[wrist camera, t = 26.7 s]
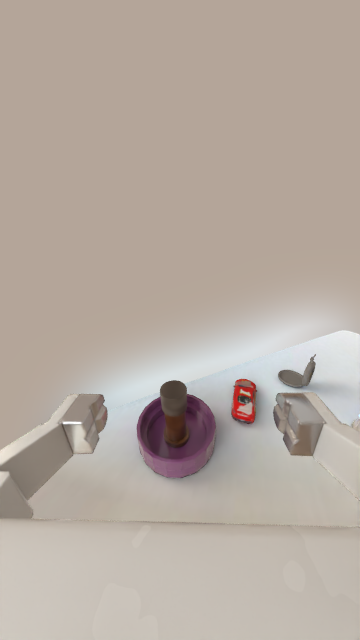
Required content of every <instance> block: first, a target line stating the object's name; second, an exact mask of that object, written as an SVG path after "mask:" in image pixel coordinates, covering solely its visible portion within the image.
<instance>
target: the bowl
mask: <svg viewBox="0 0 360 640" xmlns="http://www.w3.org/2000/svg"><path fill="white" fill-rule="evenodd" d="M185 415H186V425H187V426H188V429H189V439H188V442H187V443H186V444H185V445H184V446H182V447H179V448H173V447H170V446H168V445H167V444H166V442H165V440H164V429H165V427H166V423H165V413H164V412H163V410H162V405H161V397H159V398H157V399H155V400H153V401H152V402H151V403H150V404H149V405H148V406H146V407H145V409H144V410H143V412H142V413H141V415H140V417H139V420H138V424H137V437H138V443H139V448H140V453H141V455H142V457H143V459H144V461H145V463H146V464H147V465H148V466H149V467H150V468H151V469H152V470H153V471H154V472H156V473H158V474H161V475H163V476H166V477H177V478H182V477H185V476H187V475H190V474H193V473H196V472H197V471H198V470H199V469H201V468H202V467H203V466H204V465H205V464H206V463H207V462H208V460H209V458H210V457H211V455H212V453H213V449H214V444H215V433H216V425H215V419H214V415H213V413H212V412H211V410H210V408H209V407H208V406H207V405H206V404H205V403H204V402H203V401H202V400H201V399H199V398H197V397H195V396H193V395H189V394H187V409H186V411H185Z"/></svg>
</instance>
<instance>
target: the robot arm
mask: <svg viewBox="0 0 360 640" xmlns="http://www.w3.org/2000/svg"><path fill="white" fill-rule="evenodd" d="M104 401H105V400H104V397H103V395H101V394H70V395H68V396H67V397H66V398H65V400H64V401H63V402H62V404H61V405H60V406H59V407H58V409H57V410H56V411H55V412H54V414H53V415H52V416H51V418H50V419H49V420H48V421H47V423H46V424H41V425H40V426H38V427H36V428H35V429H33V430H31V431H30V432H28V433H27V434H25V435H24V436H22V437H21V438H19V439H17V440H16V441H14V442H13V443H11V444H9V445H8V446H6V447H5V448H3V449H2V450H0V640H360V527H339V526H301V525H263V524H225V523H186V522H147V521H108V520H68V519H31V518H32V516H33V509H32V508H31V506H30V505H29V503H28V501H27V500H28V499H29V498H30V497H31V496H32V495H33V494H34V493H36V492H37V491H38V490H39V489H40V488H41V487H42V486H43V485H44V484H45V483H46V482H47V481H48V480H49V479H50V478H51V477H52V476H53V475H54V474H55V473H56V472H57V471H58V470H59V469H60V468H61V467H62V466H63V465H64V464H65V463H66V462H67V461H68V460H69V459H70V458H71V457H72V456H73V454H92V453H93V452H94V449H95V447H96V445H97V443H98V441H99V435H98V434H99V433H100V432H101V431H102V430H103V429H104V427H105V425H106V421H107V408H106V407H105V406H104V405H103V403H104ZM276 401H277V403H278V404H277V405H276V406H275V407H274V412H273V414H274V420H275V424H276V426H277V428H278V430H279V431H281V432H282V433H283V434H284V437H283V440H284V442H285V444H286V446H287V448H288V450H289V452H290V454H291V455H299V456H313V458H314V459H315V460H316V461H317V462H318V463H319V464H320V465H321V466H323V467H324V468H325V469H326V470H327V471H328V472H329V473H330V474H331V475H332V476H333V477H334V478H335V479H337V480H338V481H339V482H340V483H341V484H342V485H343V486H344V487H345V488H346V489H347V490H348V491H349V492H350V493H352V494H353V495H354V496H355V497H356V498H357V499H358V500H359V501H360V419H356V420H355V421H354V422H353V424H352V427H353V428H352V427H350V426H348V425H347V424H341V422H340V421H339V420H338V419H337V418H336V417H335V416H334V414H333V413H332V412H331V411H330V410H329V409H328V407H327V406H326V405H325V404H324V403H323V402H322V400H321V399H320V398H319V397H318V396H317V395H316V394H315V393H313V392H307V393H278V394H277V396H276Z"/></svg>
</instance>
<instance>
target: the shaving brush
mask: <svg viewBox="0 0 360 640" xmlns="http://www.w3.org/2000/svg"><path fill="white" fill-rule="evenodd" d="M160 395H161V405H162V410H163V412H164V413H165V423H166V427H165V429H164V440H165V442H166V444H167V445H168V446H170V447H173V448H179V447H182V446H184V445H185V444H186V443H187V442H188V439H189V429H188V426H187V425H186V415H185V411H186V409H187V388H186V386H185V384H184V383H182V382H180V381H169V382H166V383H164V384H163V385H162V387H161V389H160Z"/></svg>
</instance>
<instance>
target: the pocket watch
mask: <svg viewBox="0 0 360 640" xmlns="http://www.w3.org/2000/svg"><path fill="white" fill-rule="evenodd" d="M315 356H316V354H315V355H314V357H315ZM314 357H311V359H310V362H309V363H308V365H307V367H306V369H305V372H304V375H303V376H302V375H301V374H299V373H297V372H295V371H291V370H283V371H280V372H279V374H278V377H279V379H280V380H281V381H282V382H283V383H285V384H286V385H289V386H292V387H302V386H307V385H308V384H309V382H310V380H311V378H312V375H313V373H314V369H315V362H314V361H313V360H314Z"/></svg>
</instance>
